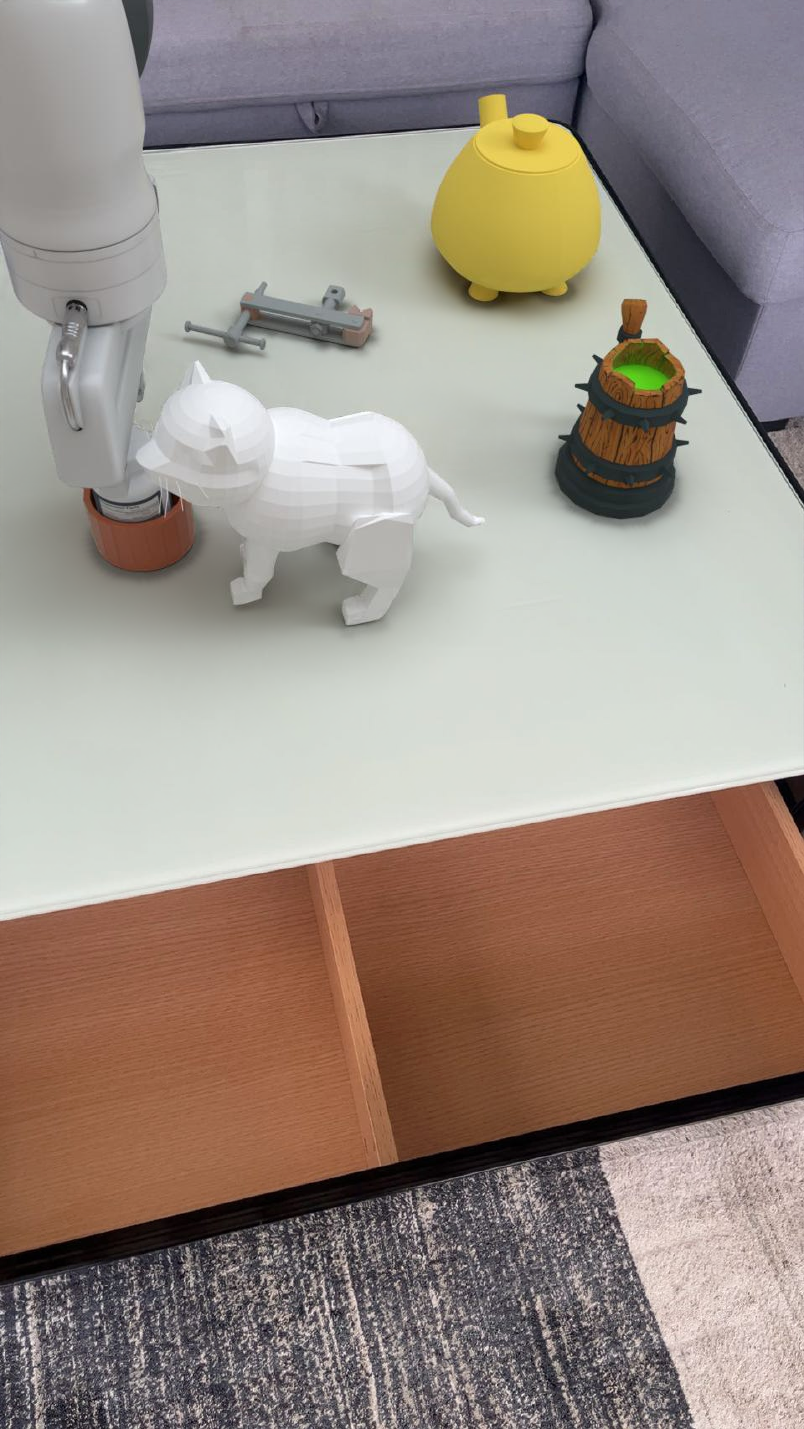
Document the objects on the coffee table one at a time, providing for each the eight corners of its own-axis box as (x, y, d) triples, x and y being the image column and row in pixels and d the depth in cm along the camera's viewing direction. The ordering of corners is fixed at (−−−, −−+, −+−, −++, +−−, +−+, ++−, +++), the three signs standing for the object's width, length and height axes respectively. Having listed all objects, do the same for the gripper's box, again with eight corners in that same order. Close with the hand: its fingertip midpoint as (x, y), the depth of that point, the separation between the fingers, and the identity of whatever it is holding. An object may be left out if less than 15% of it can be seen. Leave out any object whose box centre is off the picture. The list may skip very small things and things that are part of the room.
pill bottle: (121, 502, 81) (99, 408, 73) (186, 515, 80) (171, 422, 73) (94, 551, 78) (68, 459, 70) (162, 566, 77) (143, 474, 70)
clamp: (382, 289, 94) (349, 356, 89) (381, 310, 96) (349, 378, 91) (222, 256, 96) (180, 320, 91) (225, 278, 98) (184, 342, 92)
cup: (80, 562, 78) (67, 518, 74) (114, 492, 82) (103, 447, 78) (178, 579, 77) (170, 535, 73) (207, 508, 81) (201, 463, 78)
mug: (685, 523, 83) (730, 404, 73) (555, 518, 82) (583, 397, 73) (663, 413, 90) (702, 292, 81) (544, 408, 90) (568, 285, 80)
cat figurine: (451, 510, 84) (498, 326, 70) (493, 610, 78) (552, 431, 65) (127, 540, 77) (109, 342, 63) (147, 652, 71) (133, 461, 58)
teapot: (404, 203, 107) (412, 55, 95) (553, 194, 109) (578, 49, 97) (447, 325, 96) (461, 175, 84) (611, 312, 98) (647, 164, 87)
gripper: (120, 373, 55) (156, 555, 67) (158, 162, 67) (184, 349, 78) (-4, 370, 55) (54, 554, 66) (56, 158, 66) (96, 346, 78)
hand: (124, 441), depth 72 cm, fingers open, 8 cm apart
